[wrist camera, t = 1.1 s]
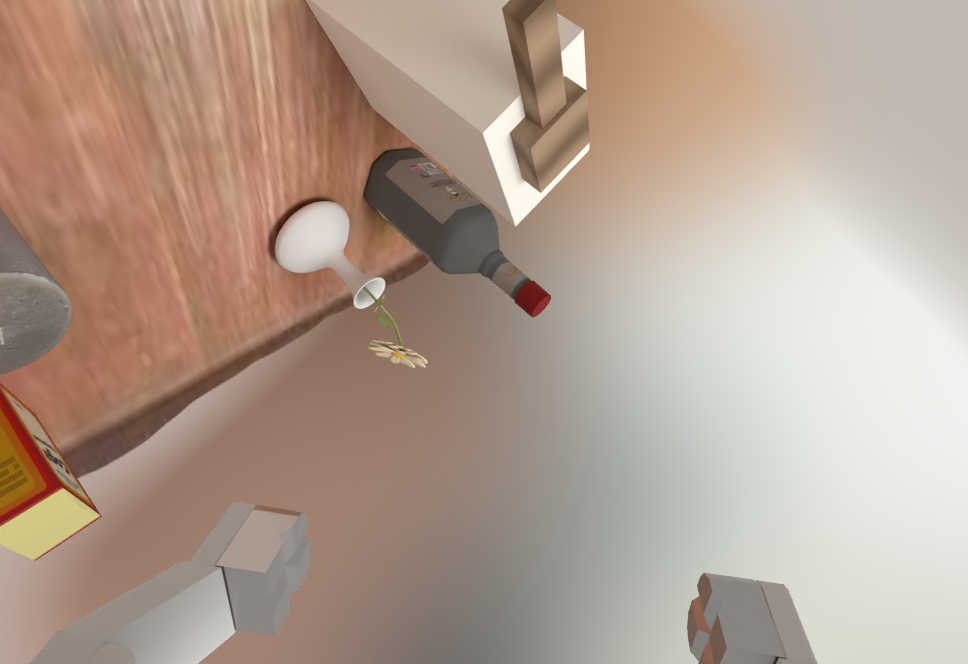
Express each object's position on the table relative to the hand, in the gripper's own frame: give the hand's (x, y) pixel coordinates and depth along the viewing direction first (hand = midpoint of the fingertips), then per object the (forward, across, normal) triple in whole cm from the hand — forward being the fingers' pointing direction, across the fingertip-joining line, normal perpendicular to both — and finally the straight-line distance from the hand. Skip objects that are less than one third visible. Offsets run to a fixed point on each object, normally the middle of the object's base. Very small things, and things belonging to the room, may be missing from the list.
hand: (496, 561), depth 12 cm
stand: (+62, +21, -10) cm, 66 cm away
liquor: (+74, +24, +10) cm, 78 cm away
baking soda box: (+34, +57, +29) cm, 72 cm away
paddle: (+44, +2, -5) cm, 44 cm away
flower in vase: (+64, +33, +17) cm, 73 cm away
